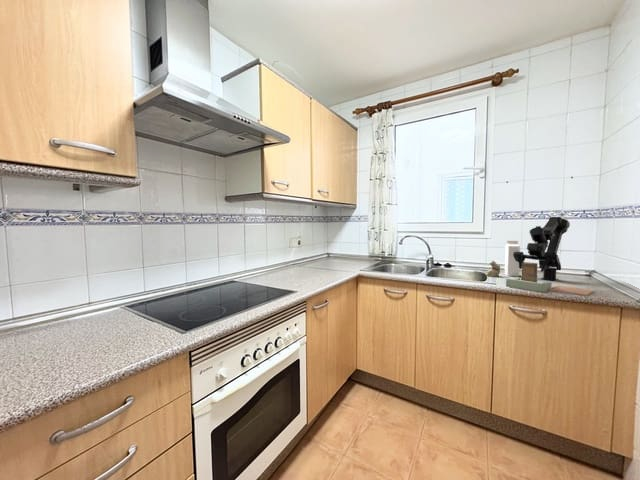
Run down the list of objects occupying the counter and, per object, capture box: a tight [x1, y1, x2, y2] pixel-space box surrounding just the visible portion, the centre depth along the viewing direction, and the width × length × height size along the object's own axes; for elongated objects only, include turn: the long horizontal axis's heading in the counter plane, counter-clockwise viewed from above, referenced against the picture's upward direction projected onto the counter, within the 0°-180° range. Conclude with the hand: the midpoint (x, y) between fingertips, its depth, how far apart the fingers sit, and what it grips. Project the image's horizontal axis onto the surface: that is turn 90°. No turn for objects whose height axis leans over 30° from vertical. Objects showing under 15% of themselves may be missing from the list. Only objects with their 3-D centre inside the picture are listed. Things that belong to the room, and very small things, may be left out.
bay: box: [505, 277, 553, 293], centre depth 137 cm, size 14×15×4 cm
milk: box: [504, 240, 521, 278], centre depth 166 cm, size 6×6×22 cm
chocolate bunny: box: [485, 260, 501, 278], centre depth 166 cm, size 6×8×10 cm
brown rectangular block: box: [520, 261, 539, 283], centre depth 137 cm, size 5×5×12 cm
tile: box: [548, 284, 595, 297], centre depth 128 cm, size 13×13×1 cm
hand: (530, 270), depth 137 cm, fingers open, 9 cm apart
